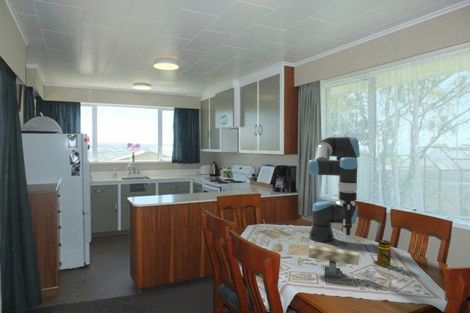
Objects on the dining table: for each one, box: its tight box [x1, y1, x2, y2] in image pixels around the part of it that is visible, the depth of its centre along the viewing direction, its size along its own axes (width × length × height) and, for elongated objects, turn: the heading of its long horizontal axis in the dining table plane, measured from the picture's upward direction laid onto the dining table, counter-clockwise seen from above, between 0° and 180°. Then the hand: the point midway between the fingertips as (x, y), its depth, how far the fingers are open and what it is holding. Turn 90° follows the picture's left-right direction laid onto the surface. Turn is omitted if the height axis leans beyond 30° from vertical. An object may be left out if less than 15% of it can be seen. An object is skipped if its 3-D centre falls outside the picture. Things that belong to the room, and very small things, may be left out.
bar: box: [307, 244, 360, 266], centre depth 150 cm, size 22×4×4 cm, turn 74°
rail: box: [324, 261, 342, 279], centre depth 150 cm, size 10×7×6 cm
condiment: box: [371, 239, 393, 269], centre depth 161 cm, size 7×8×12 cm
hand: (346, 237), depth 148 cm, fingers open, 13 cm apart
